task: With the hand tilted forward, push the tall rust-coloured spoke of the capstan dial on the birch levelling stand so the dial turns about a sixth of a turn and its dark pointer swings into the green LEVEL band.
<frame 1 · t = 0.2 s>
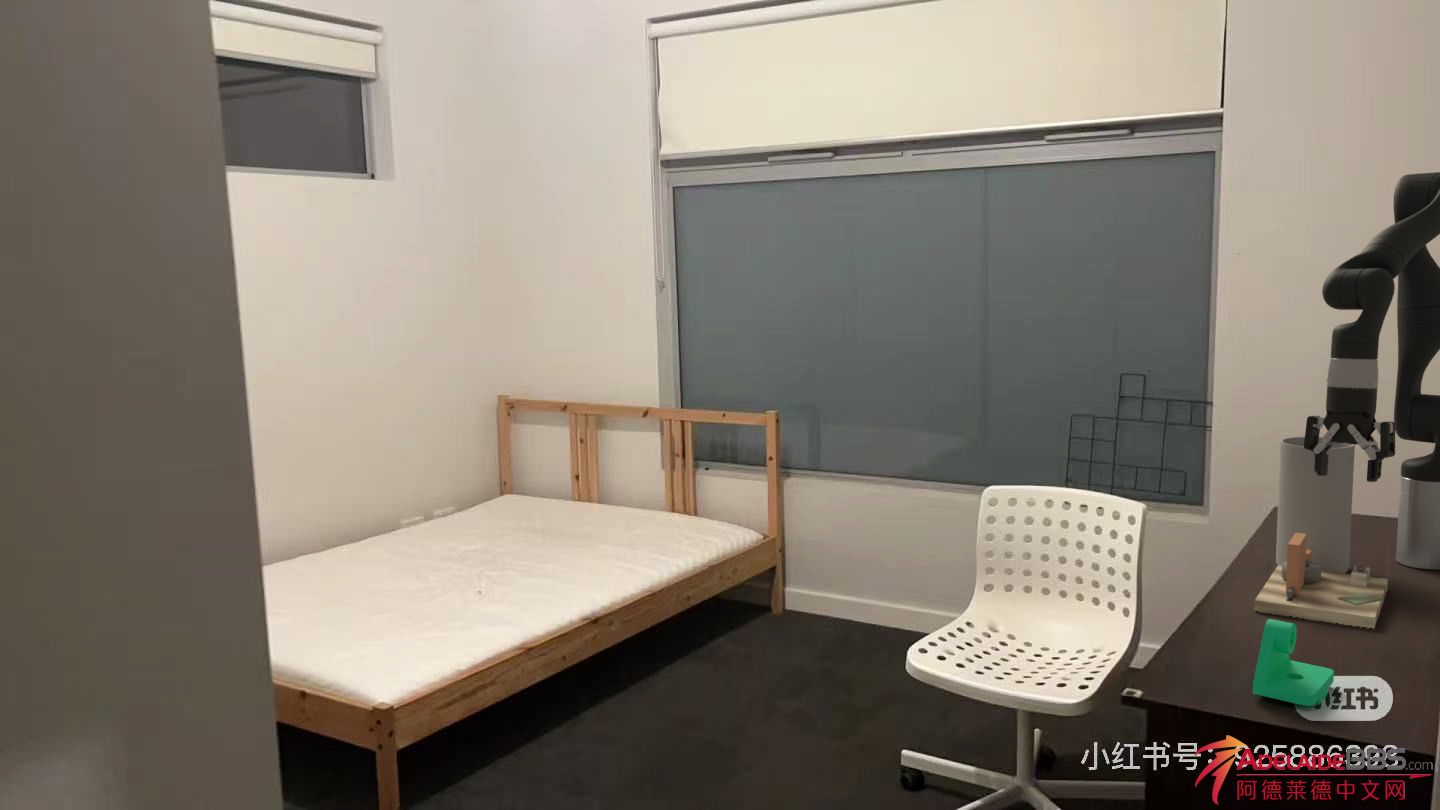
hand: (1346, 478, 188), 23 cm above the table, tool pointing down, fingers open, 8 cm apart
level stand: (1322, 600, 194), on the table
camera mount: (1294, 695, 156), on the table
cylinder vase: (1311, 569, 212), on the table
capstan: (1298, 559, 195), point 7 cm above the table, hinge at 0.0°
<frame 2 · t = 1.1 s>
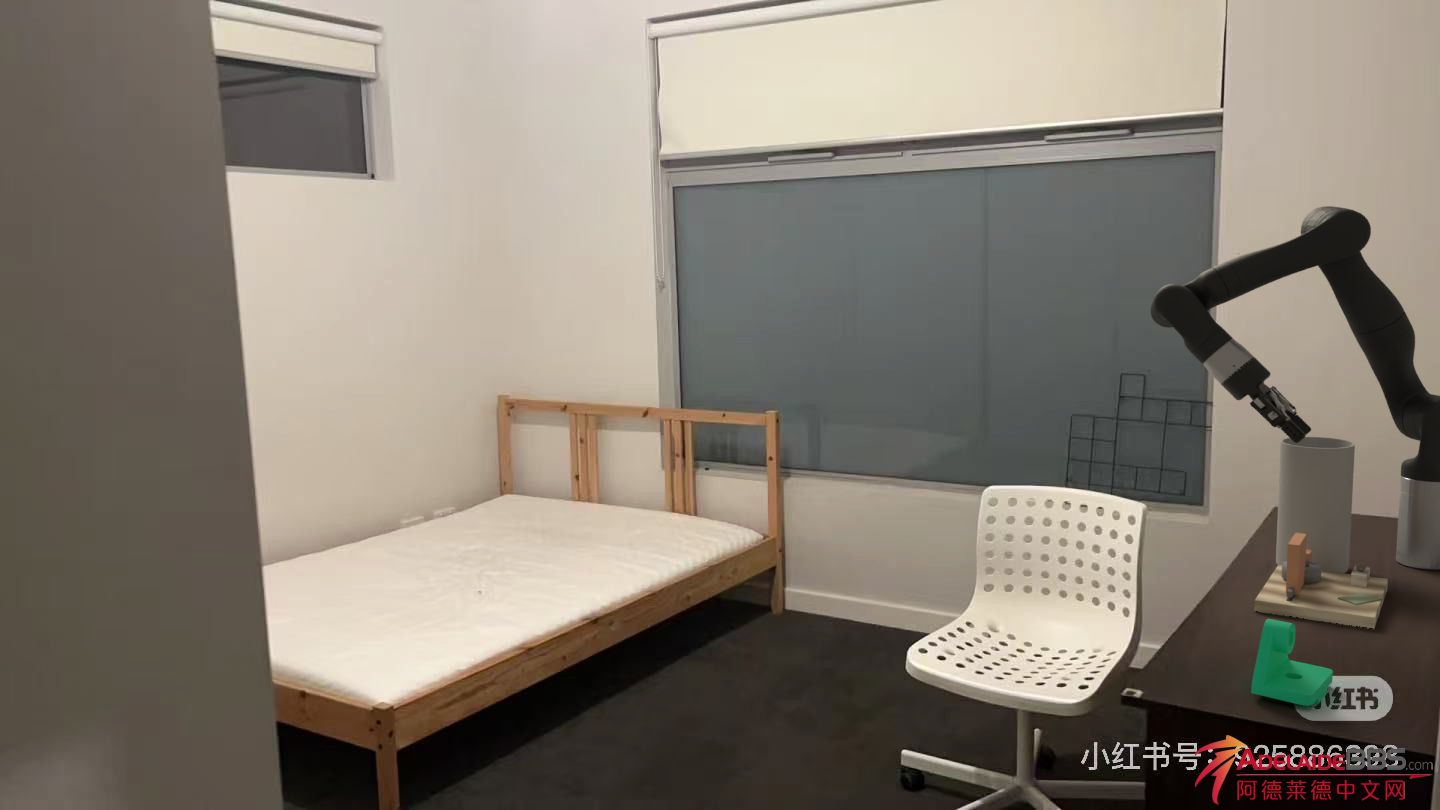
hand: (1304, 436, 196), 29 cm above the table, tool tilted 45°, fingers open, 6 cm apart
nothing on the table moved.
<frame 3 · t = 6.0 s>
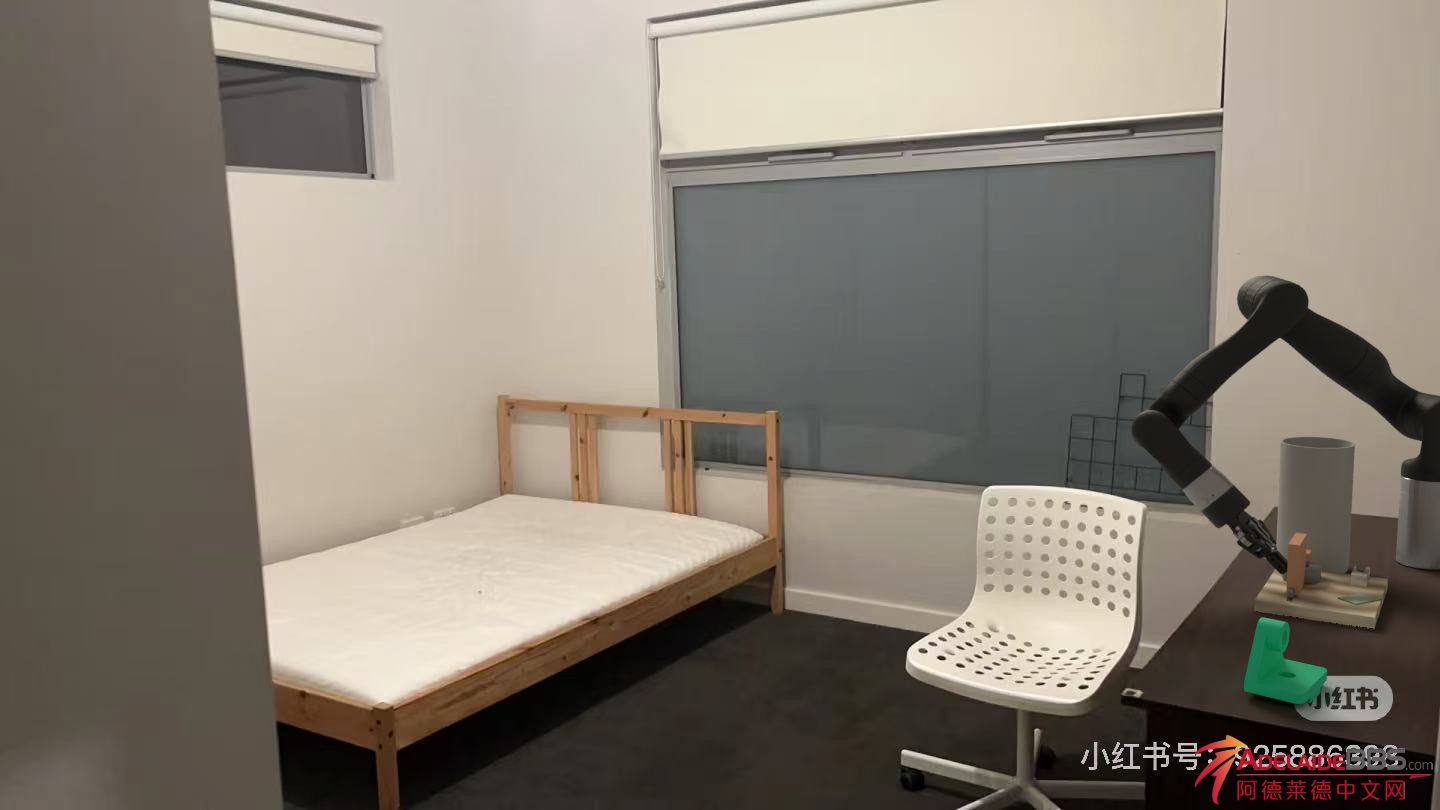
hand: (1287, 570, 194), 5 cm above the table, tool tilted 45°, fingers closed
capstan: (1299, 559, 195), point 7 cm above the table, hinge at 0.5°, touching gripper
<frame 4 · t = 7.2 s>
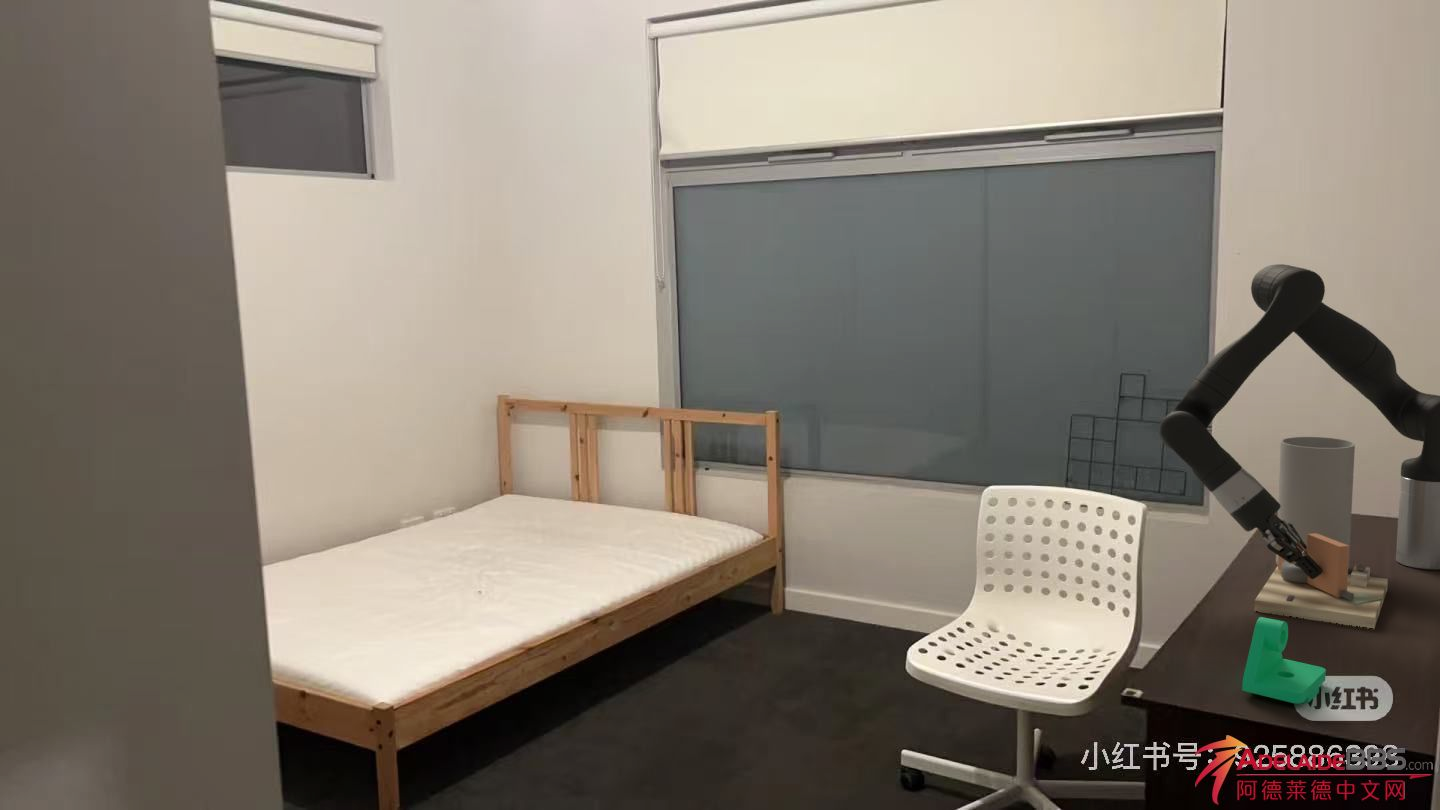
hand: (1317, 575, 192), 5 cm above the table, tool tilted 45°, fingers closed
capstan: (1316, 560, 195), point 7 cm above the table, hinge at 42.4°, touching gripper
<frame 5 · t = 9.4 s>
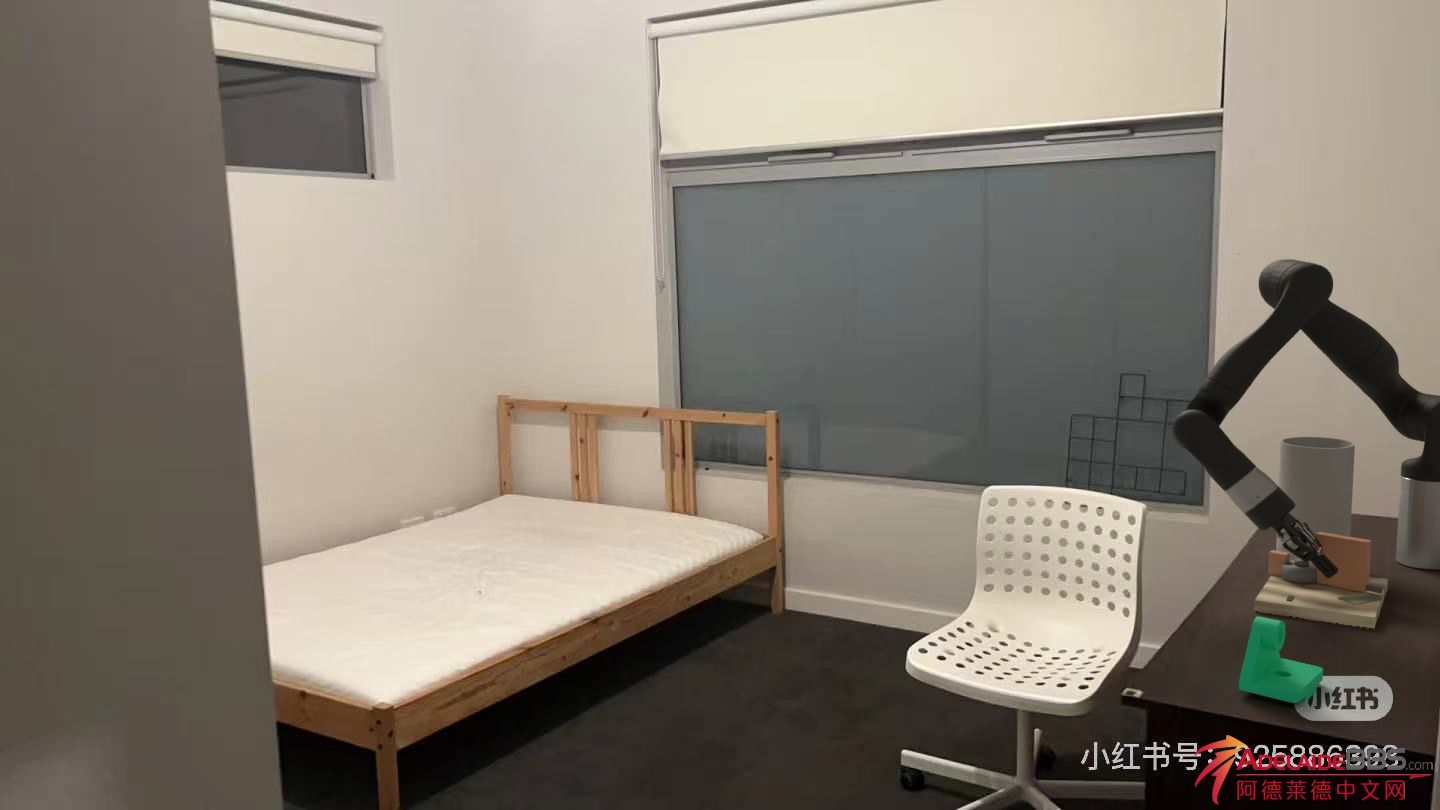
hand: (1333, 574, 190), 6 cm above the table, tool tilted 45°, fingers closed
capstan: (1325, 558, 195), point 7 cm above the table, hinge at 75.1°
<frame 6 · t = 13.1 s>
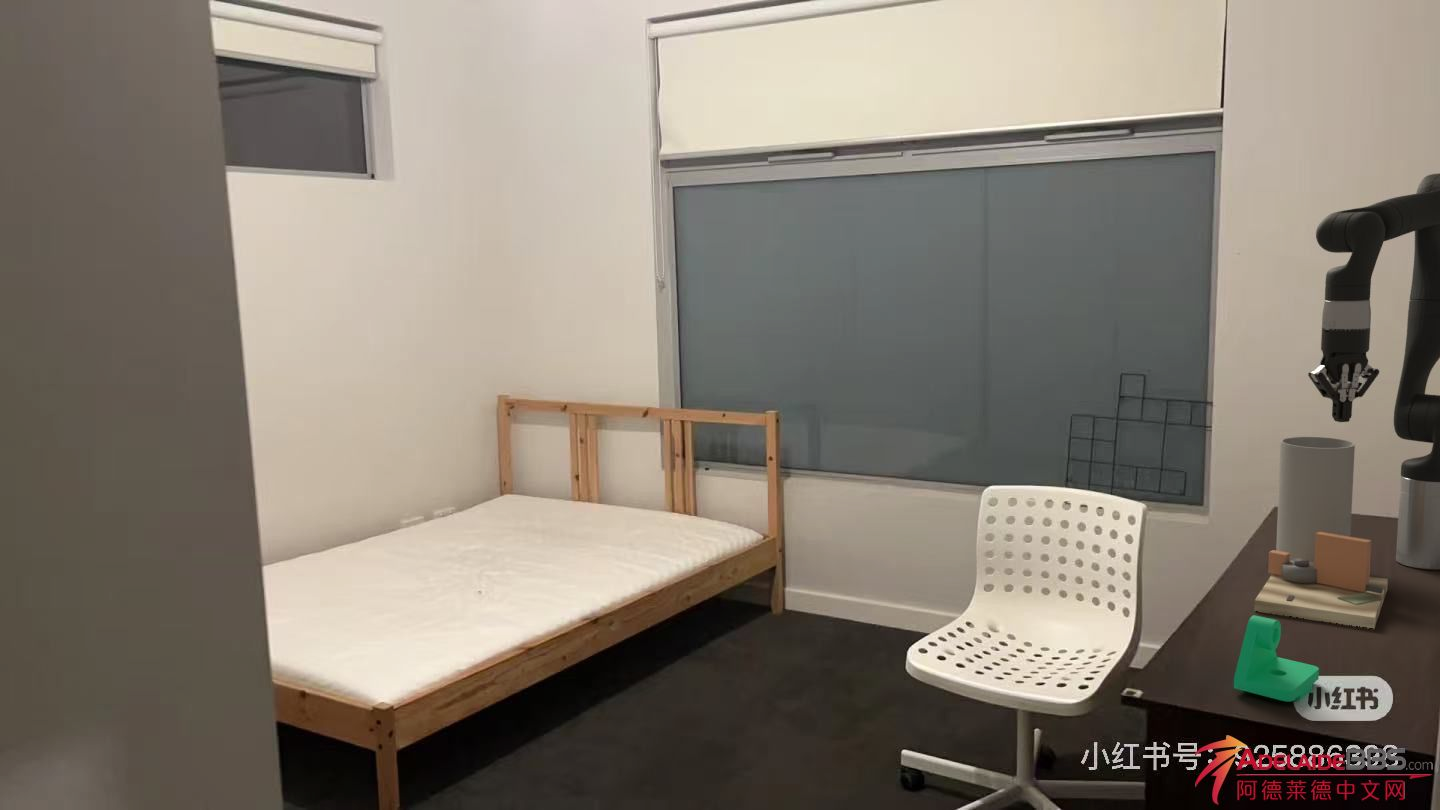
hand: (1341, 421, 196), 31 cm above the table, tool pointing down, fingers closed
at the end: capstan at +75° (first picture: +0°) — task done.
